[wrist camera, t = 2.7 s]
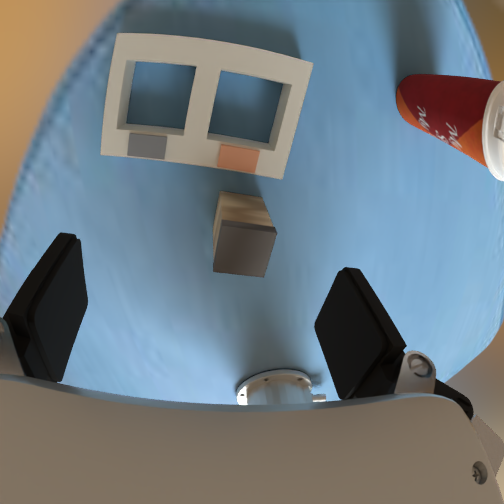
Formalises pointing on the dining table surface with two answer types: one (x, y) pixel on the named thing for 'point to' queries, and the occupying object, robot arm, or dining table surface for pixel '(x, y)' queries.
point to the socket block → (202, 104)
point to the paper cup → (458, 114)
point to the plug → (242, 235)
